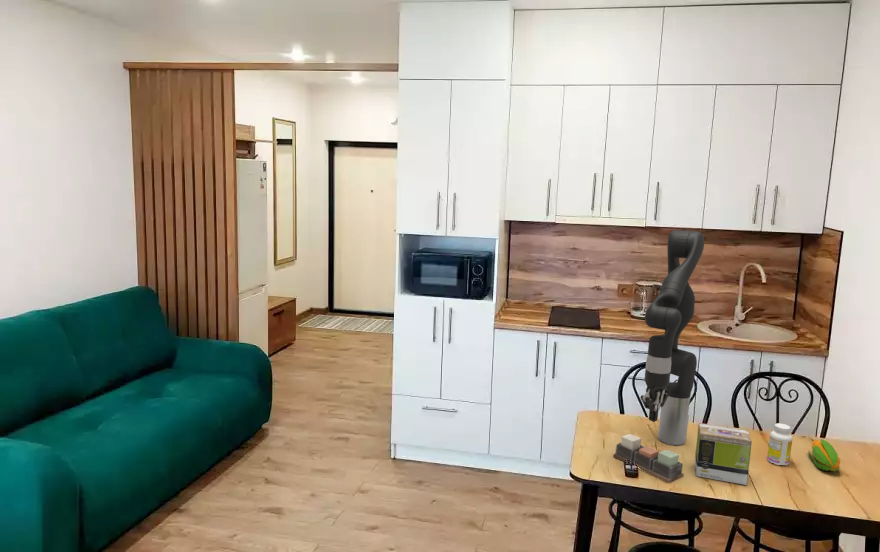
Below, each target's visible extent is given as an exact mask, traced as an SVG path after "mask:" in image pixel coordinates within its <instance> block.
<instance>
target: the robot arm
mask: <svg viewBox="0 0 880 552" xmlns="http://www.w3.org/2000/svg"><path fill="white" fill-rule="evenodd" d="M666 248H667V249H666V250H667V275H666V276H665V277H664V278H663V281H662V283H661V286H660V289H659V292H658V295H657V296H656V297H655V299H654V300H653V301H652V303H651V304H650V305H649V306H648V308H647V309H646V311H645V314H644V321H645V324H646V326H648V327H649V328H652V329H658V330H664V334H657V335H655V334H654V335H652V336H650V337H649V339H648V345H647V346H648V348H647V355H646V359H645V360H646V361H645V370H644V382H645V383H646V388H645V394H644V395H643V394H642V395H640V400H641V402H642V404H643V406H644V408H645V409H648V410H649V411H648V412H649V413H648V420H649V421H650V422H652V423H655V422H657V421H658V420H659V425H658V431H657V432H658V434H657V439H658V440H659V441H660V442H661V443H664V444H667V445H671V446H681V445H684V444H685V443H686V440H687V436H688V427H689V426H688V425H689V418H690V417H689V416H690V415H689V413H690V412H689V410H690V401H691V395H692V391H693V388H694V383H695V382H694V381H695V376H696V371H697V364H698V362H697V361H698V359H697V356H696V354H695V353H693V352H690V351H687V350H684V349H681V348H680V349H679V348H678V345H679V339H680V336H681V334H682V332H683V331H684V329H686V327H687V326H688V324H690V322H691V321H692V320H693V317H694V314H695V302H696V296H695V292H694V291H693V289H692V287H691V285H690V284H689V280H690V278H691V276H692V274H693V273H694V271H695V269H696V267H697V266H698V263H699V261H700V259H701V256H702V255H703V252H704V248H705V237H704V234H703V233H702V232H700V231H697V230H695V231H693V230H683V229H682V230H678V229H674V230H671V231H670V232H669V235H668V237H667V247H666ZM680 259H684V260H683V262H682V263H680ZM671 375H673V376H675V377H677V381H674V382H672V381H670V380H671ZM659 411H660V414H659ZM659 415H660V416H659ZM658 418H659V419H658Z"/></svg>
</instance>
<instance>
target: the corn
mask: <svg viewBox="0 0 880 552" xmlns="http://www.w3.org/2000/svg"><path fill="white" fill-rule="evenodd" d="M811 449H812V451H810V450H807V452H808V454H809V457H810V458H811V460H812V461H813V463H814V465H815V466H816V467H817V468H818V469H819V470H821V469H822V470H821V471H824V470H825V472H826V471H827V472H828V471H829V470H830V471H829V472H831V471H832V472H836V471H838V470H839V469H840V465H841V460H840V457H839V455H838V453H837V451H836V450H835V448H834V446H833V445H832V444H831V443H830V442H828V441H827V440H825V439H823V438H822V439H820V440H818V439H815V440H813V441H812V443H811ZM812 455H813V456H812ZM814 457H815V458H814Z"/></svg>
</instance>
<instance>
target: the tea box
mask: <svg viewBox="0 0 880 552" xmlns="http://www.w3.org/2000/svg"><path fill="white" fill-rule="evenodd" d="M697 425H698V426H697V438H696V446H695V455H694V468H695V469H694V470H695V476H696V477H699V478H704V479H709V480H710V479H711V480H716V481H721V482H729V483H732V484H733V483H734V484H738V485H744V486H747V484H748V480H749V479H748V478H749V471H750V470H749V468H750V463H751V461H750V460H751V453H752V445H753V444H752V439H751V436H750V433H749V430H748V429H745V428H744V429H743V428H737V427H728V426H722V425H718V424H716V425H715V424H709V423H703V422H699V423H698V424H697Z"/></svg>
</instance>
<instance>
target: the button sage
mask: <svg viewBox="0 0 880 552" xmlns="http://www.w3.org/2000/svg"><path fill="white" fill-rule="evenodd" d="M679 457H680V454H678V453H676V452H673V451H672V450H669V449H665V450H662V451H659V453H658V461H657V462H659V463H662V464H664V465H666V466H668V467H672V466H675V465H677V464H678V462H679Z"/></svg>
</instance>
